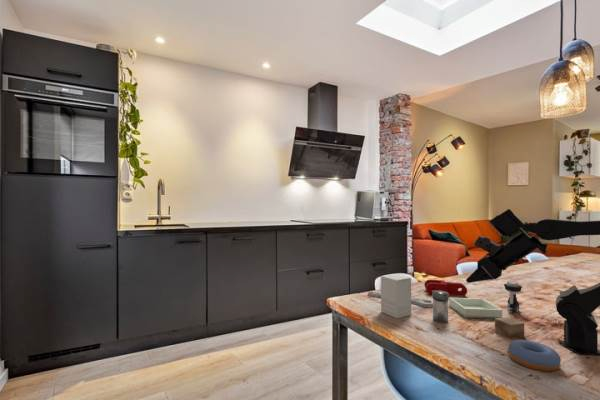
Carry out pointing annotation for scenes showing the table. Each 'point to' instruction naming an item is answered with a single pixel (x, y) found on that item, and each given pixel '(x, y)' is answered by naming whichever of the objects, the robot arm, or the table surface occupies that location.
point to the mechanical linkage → (445, 287)
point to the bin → (475, 308)
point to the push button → (513, 296)
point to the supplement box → (396, 295)
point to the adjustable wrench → (416, 301)
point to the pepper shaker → (440, 306)
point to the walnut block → (509, 327)
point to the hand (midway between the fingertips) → (469, 278)
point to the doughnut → (534, 355)
